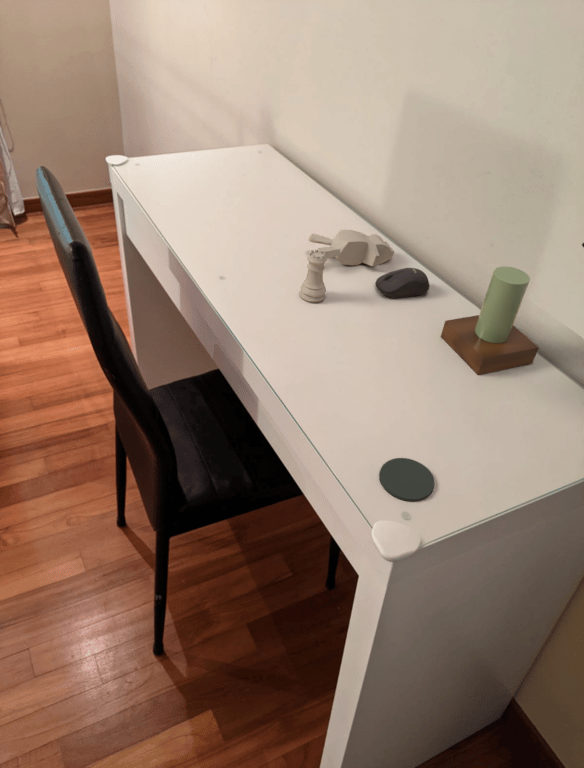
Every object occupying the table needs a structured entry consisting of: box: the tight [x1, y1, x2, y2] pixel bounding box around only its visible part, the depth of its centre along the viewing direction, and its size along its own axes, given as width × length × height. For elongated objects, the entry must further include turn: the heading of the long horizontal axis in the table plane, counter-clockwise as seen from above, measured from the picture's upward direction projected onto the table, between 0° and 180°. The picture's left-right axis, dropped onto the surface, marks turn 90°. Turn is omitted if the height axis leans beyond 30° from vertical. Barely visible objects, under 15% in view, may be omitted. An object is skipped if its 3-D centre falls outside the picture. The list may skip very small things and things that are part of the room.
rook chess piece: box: [299, 248, 328, 304], centre depth 99 cm, size 4×4×8 cm
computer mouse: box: [374, 267, 430, 299], centre depth 104 cm, size 6×9×4 cm, turn 104°
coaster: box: [378, 457, 435, 502], centre depth 71 cm, size 6×6×1 cm
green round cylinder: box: [475, 266, 531, 343], centre depth 89 cm, size 5×5×10 cm
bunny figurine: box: [308, 229, 395, 267], centre depth 111 cm, size 10×5×15 cm
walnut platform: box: [440, 314, 540, 376], centre depth 93 cm, size 10×10×3 cm
